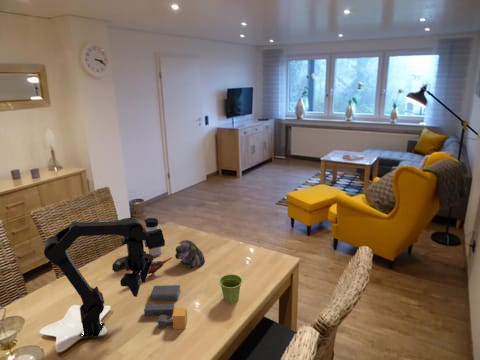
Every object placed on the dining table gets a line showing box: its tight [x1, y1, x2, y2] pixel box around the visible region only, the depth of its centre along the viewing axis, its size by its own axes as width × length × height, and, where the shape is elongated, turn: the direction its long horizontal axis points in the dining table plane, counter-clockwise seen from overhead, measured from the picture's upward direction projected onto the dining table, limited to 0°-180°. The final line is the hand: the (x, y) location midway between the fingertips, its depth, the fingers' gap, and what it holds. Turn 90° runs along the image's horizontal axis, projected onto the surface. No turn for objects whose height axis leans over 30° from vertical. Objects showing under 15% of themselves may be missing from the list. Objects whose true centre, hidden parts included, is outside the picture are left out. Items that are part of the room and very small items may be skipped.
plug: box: [157, 307, 188, 330], centre depth 123 cm, size 4×10×6 cm, turn 90°
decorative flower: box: [174, 239, 205, 269], centre depth 164 cm, size 15×12×15 cm
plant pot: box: [218, 273, 243, 304], centre depth 136 cm, size 9×9×9 cm
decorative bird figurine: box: [147, 257, 173, 278], centre depth 155 cm, size 3×18×10 cm, turn 123°
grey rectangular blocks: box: [143, 284, 181, 317], centre depth 136 cm, size 16×11×3 cm
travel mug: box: [144, 217, 162, 258], centre depth 172 cm, size 6×7×20 cm
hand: (139, 289), depth 127 cm, fingers open, 9 cm apart
